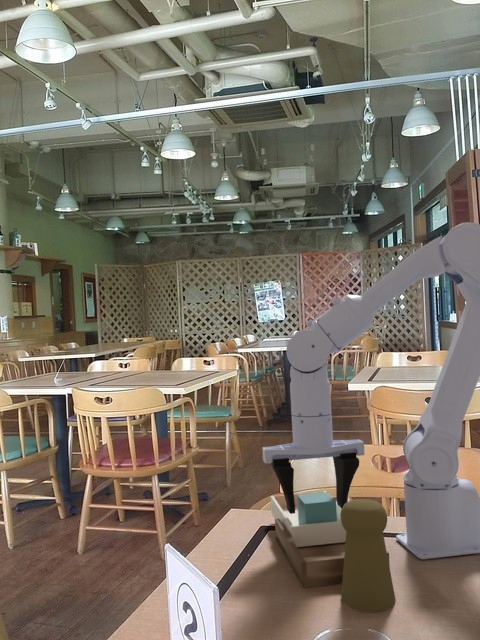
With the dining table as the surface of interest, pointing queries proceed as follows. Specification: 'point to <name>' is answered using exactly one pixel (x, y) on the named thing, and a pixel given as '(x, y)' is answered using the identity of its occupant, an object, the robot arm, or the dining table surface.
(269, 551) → the dining table surface
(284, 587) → the dining table surface
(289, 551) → the dock
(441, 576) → the dining table surface
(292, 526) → the tray
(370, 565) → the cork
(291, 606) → the dining table surface
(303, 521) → the teal block
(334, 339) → the robot arm
